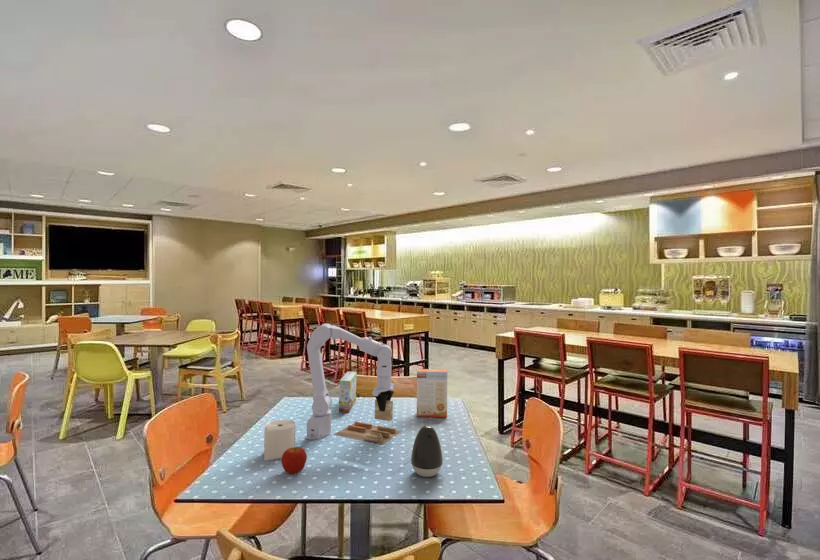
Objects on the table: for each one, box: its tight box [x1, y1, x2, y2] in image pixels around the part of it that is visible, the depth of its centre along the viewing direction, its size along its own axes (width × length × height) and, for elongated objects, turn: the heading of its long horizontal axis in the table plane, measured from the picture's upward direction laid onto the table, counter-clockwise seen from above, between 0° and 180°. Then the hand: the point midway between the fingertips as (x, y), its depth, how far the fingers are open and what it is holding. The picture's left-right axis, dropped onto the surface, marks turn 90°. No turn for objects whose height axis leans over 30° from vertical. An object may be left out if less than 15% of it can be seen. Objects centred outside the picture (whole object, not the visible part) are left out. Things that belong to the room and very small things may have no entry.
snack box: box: [338, 371, 358, 414], centre depth 205 cm, size 21×6×15 cm, turn 179°
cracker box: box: [416, 368, 448, 418], centre depth 192 cm, size 14×6×21 cm, turn 84°
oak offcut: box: [365, 432, 382, 439], centre depth 159 cm, size 4×5×1 cm
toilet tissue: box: [263, 419, 297, 461], centre depth 147 cm, size 11×12×10 cm
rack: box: [333, 421, 403, 446], centre depth 165 cm, size 16×22×3 cm
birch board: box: [374, 399, 394, 422], centre depth 165 cm, size 2×7×8 cm, turn 64°
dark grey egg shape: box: [410, 425, 444, 478], centre depth 133 cm, size 10×10×15 cm
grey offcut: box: [364, 436, 383, 443], centre depth 159 cm, size 4×6×1 cm, turn 64°
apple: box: [280, 446, 308, 475], centre depth 133 cm, size 8×8×8 cm
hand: (383, 410), depth 165 cm, fingers closed on birch board, 2 cm apart
